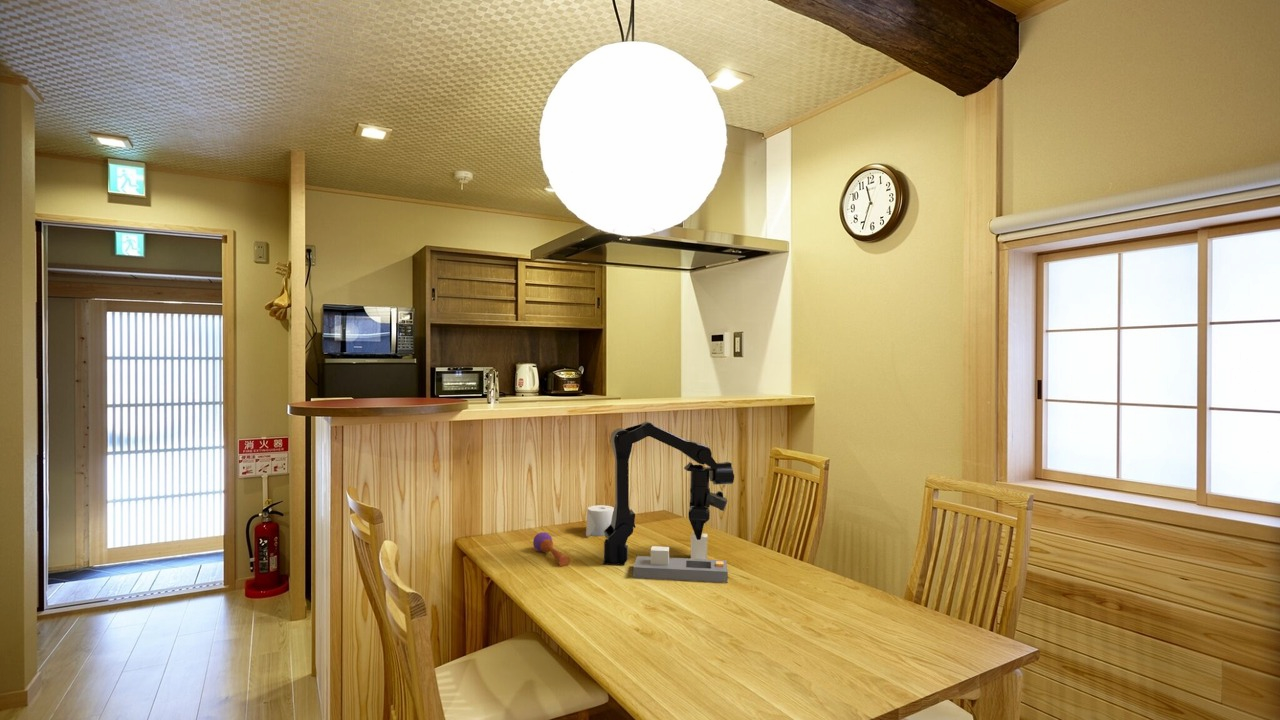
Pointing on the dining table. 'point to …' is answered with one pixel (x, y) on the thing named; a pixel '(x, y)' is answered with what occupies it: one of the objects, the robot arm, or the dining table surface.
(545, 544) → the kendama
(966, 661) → the dining table surface
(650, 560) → the power strip
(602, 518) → the toilet tissue
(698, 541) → the plug
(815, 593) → the dining table surface
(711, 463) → the robot arm
